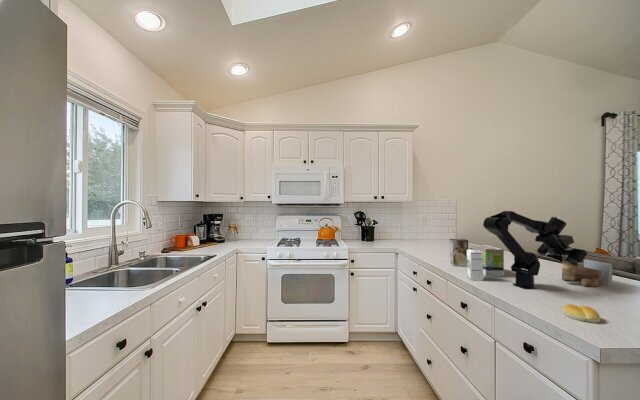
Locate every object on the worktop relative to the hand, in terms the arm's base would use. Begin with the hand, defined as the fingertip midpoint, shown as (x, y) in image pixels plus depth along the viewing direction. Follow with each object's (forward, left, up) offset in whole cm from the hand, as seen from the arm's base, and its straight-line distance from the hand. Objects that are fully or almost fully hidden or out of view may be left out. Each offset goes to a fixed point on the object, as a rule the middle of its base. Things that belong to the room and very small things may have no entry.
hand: (571, 264), depth 122 cm
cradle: (+5, 0, -9) cm, 10 cm away
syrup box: (-40, +13, -10) cm, 44 cm away
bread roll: (-36, -31, -10) cm, 49 cm away
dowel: (-1, 0, -7) cm, 7 cm away
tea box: (-26, +22, -10) cm, 36 cm away
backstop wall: (+15, 0, -9) cm, 18 cm away
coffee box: (-29, +40, -10) cm, 51 cm away
